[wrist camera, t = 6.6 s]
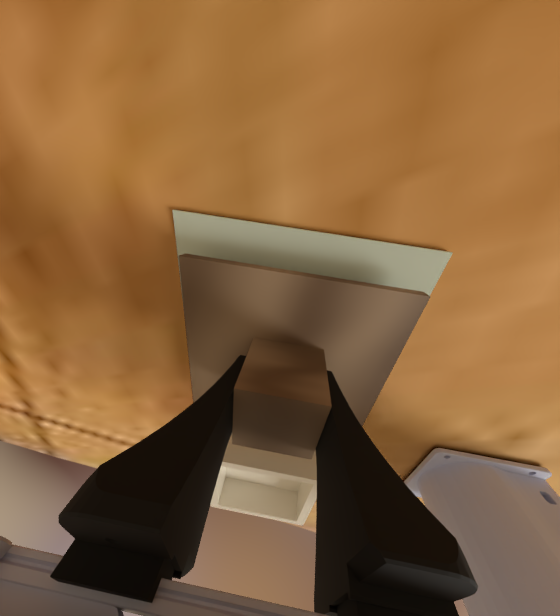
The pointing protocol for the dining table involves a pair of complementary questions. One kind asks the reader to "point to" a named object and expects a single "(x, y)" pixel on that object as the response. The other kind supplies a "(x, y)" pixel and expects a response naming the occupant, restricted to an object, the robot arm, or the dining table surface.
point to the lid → (291, 345)
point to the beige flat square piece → (309, 251)
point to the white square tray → (266, 484)
